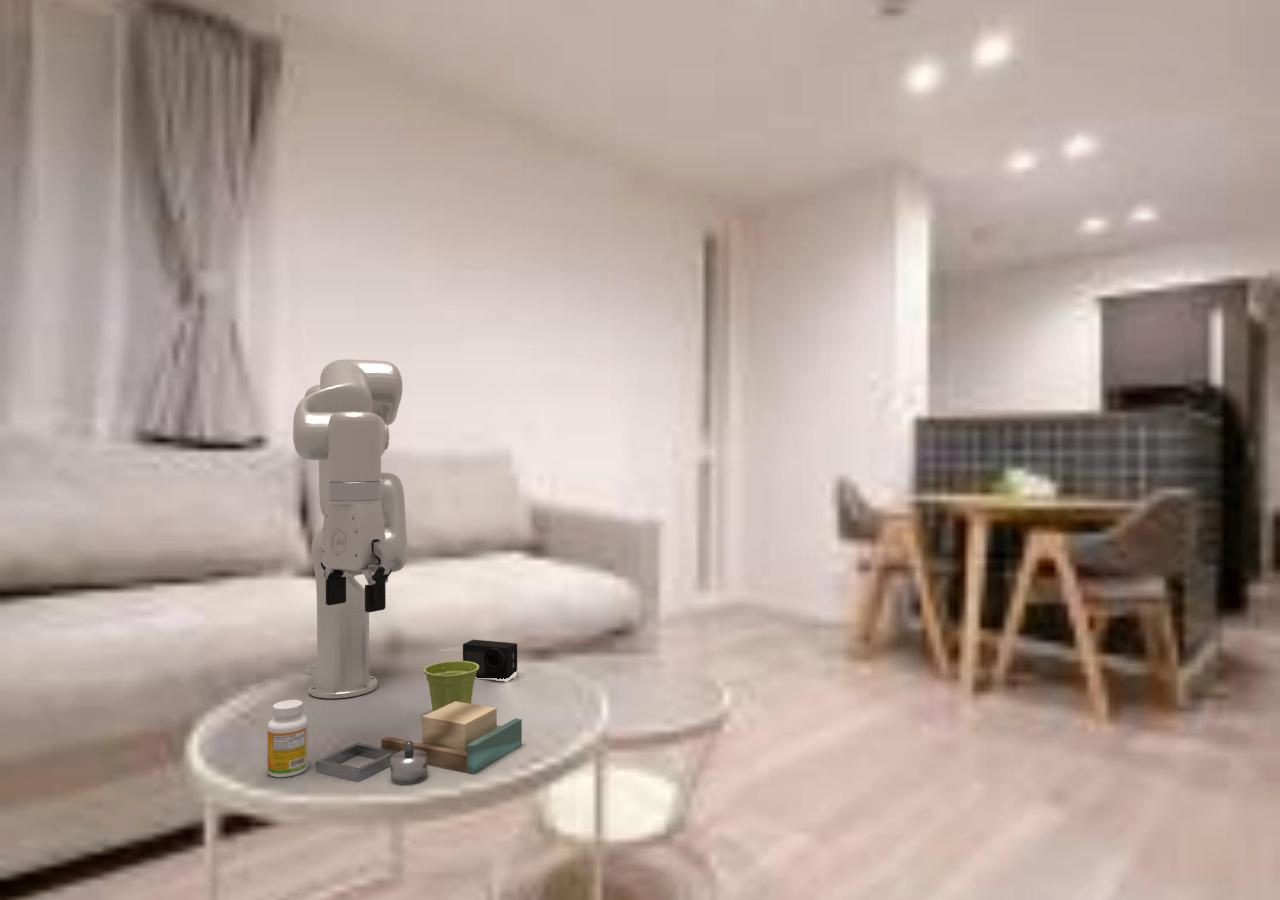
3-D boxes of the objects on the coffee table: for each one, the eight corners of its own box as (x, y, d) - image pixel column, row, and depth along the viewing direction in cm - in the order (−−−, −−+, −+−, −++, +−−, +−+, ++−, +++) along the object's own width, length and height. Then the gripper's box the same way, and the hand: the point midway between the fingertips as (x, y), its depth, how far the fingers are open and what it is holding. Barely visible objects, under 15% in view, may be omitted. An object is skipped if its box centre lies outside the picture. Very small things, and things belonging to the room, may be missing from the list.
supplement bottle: (275, 763, 118) (275, 698, 118) (313, 762, 118) (313, 697, 118) (261, 779, 113) (261, 710, 113) (300, 777, 113) (300, 709, 113)
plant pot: (423, 711, 142) (423, 662, 142) (477, 706, 144) (476, 658, 144) (423, 729, 133) (423, 677, 133) (481, 723, 135) (481, 672, 135)
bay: (381, 754, 121) (381, 715, 121) (434, 728, 133) (434, 692, 133) (474, 774, 114) (473, 732, 114) (521, 744, 126) (521, 706, 126)
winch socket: (315, 771, 115) (315, 737, 115) (357, 752, 123) (357, 719, 123) (402, 791, 108) (402, 755, 108) (441, 769, 116) (441, 735, 116)
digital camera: (458, 679, 161) (458, 644, 161) (472, 672, 166) (472, 638, 166) (504, 684, 158) (504, 649, 158) (517, 676, 163) (517, 642, 163)
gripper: (299, 493, 122) (299, 605, 122) (368, 496, 112) (369, 618, 112) (342, 491, 128) (343, 597, 128) (412, 494, 118) (412, 609, 118)
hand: (355, 607), depth 120 cm, fingers open, 9 cm apart
